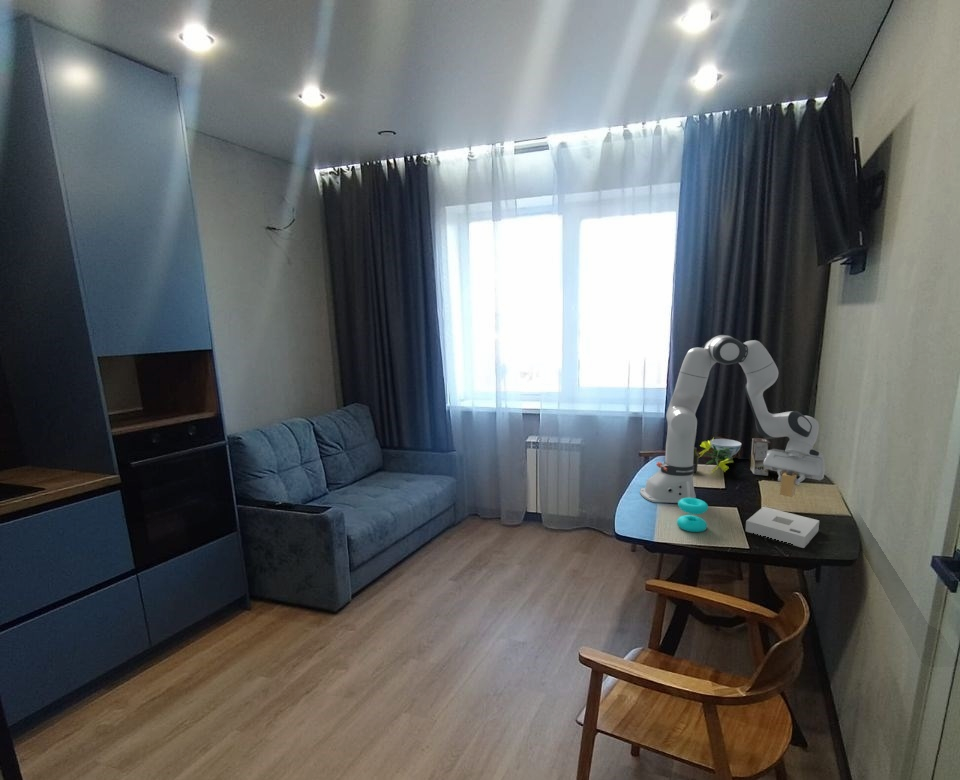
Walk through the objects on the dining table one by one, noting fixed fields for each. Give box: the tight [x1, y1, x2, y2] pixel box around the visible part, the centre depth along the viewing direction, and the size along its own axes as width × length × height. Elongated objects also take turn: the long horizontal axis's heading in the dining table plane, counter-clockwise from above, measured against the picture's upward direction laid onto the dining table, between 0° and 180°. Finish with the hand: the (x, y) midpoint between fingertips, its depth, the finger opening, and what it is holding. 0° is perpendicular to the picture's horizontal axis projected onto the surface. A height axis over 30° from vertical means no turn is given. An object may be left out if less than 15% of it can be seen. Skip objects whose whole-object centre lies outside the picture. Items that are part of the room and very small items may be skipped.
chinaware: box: [709, 438, 742, 459], centre depth 263 cm, size 15×15×8 cm
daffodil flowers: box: [698, 436, 734, 474], centre depth 242 cm, size 17×15×35 cm
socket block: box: [745, 506, 820, 549], centre depth 174 cm, size 18×18×4 cm
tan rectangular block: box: [779, 470, 798, 498], centre depth 189 cm, size 4×4×10 cm
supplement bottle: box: [693, 446, 699, 474], centre depth 239 cm, size 7×7×12 cm
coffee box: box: [749, 437, 772, 477], centre depth 236 cm, size 9×6×16 cm
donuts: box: [676, 497, 709, 533], centre depth 178 cm, size 10×10×10 cm
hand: (788, 482), depth 188 cm, fingers closed on tan rectangular block, 4 cm apart
